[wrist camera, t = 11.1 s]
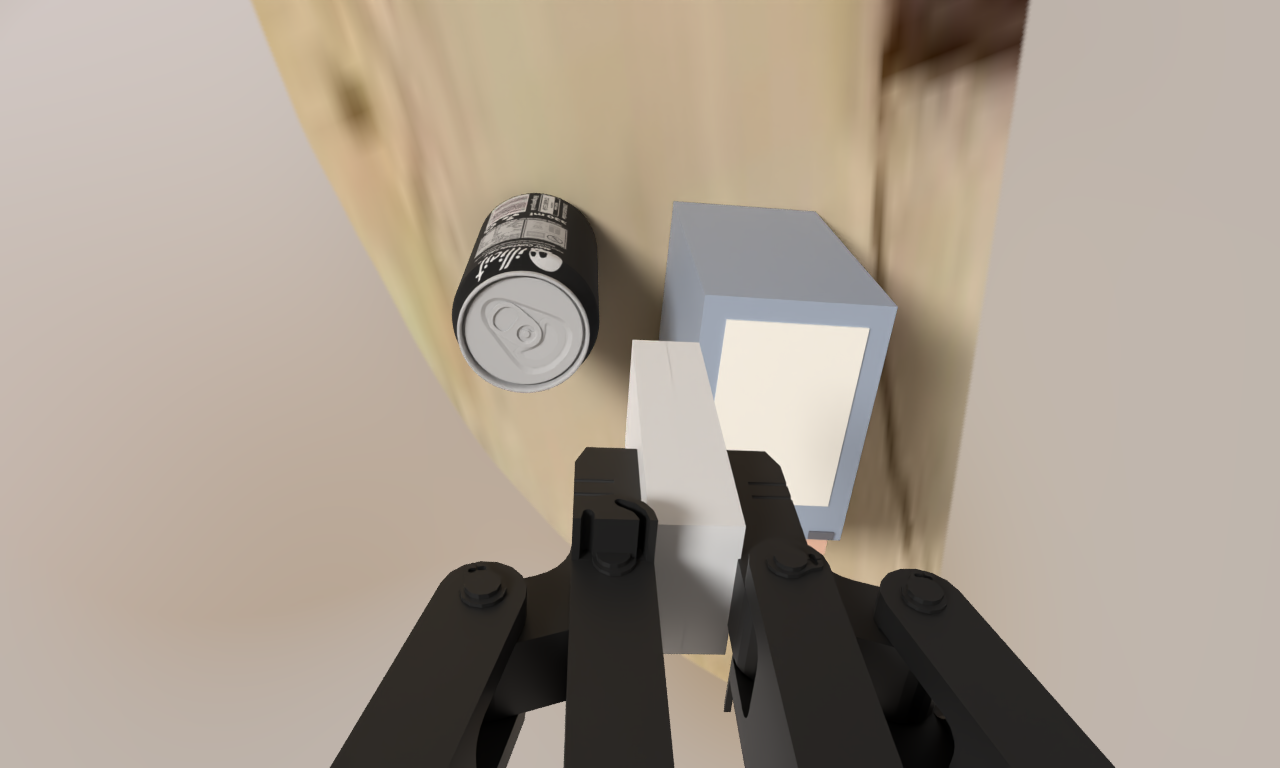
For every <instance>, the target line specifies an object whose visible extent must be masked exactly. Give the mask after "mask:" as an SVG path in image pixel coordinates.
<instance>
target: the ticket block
mask: <svg viewBox="0 0 1280 768" xmlns="http://www.w3.org/2000/svg"><path fill="white" fill-rule="evenodd" d="M897 308H898V307H897V305H896V304H895V303H894V302H893V301H892V300H891V298H890V297H889V296H888V295H887V294H886V293H885V292H884V290H883V289H882V288H881V287H880V286H879V285H878V283H877V282H876V281H875V280H874V279H873V278H872V277H871V275H870V274H869V273H868V272H867V271H866V270H865V268H864V267H863V266H862V265H861V264H860V263H859V261H858V260H857V259H856V258H855V257H854V256H853V255H852V253H851V252H850V251H849V250H848V249H847V248H846V246H845V245H844V244H843V243H842V242H841V241H840V240H839V238H838V237H837V236H836V235H835V234H834V233H833V231H832V230H831V229H830V228H829V227H828V226H827V224H826V223H825V222H824V221H823V220H822V219H821V218H820V216H819V215H818V214H817V213H816V212H814V211H800V210H786V209H773V208H759V207H745V206H732V205H718V204H704V203H691V202H677V201H674V203H673V212H672V222H671V231H670V240H669V249H668V259H667V268H666V277H665V286H664V296H663V305H662V314H661V323H660V333H659V341H674V342H698V343H699V344H700V348H701V352H702V355H703V359H704V363H705V367H706V371H707V375H708V379H709V383H710V387H711V391H712V395H713V399H714V403H715V407H716V411H717V415H718V419H719V422H720V426H721V430H722V434H723V438H724V442H725V446H726V450H742V451H765V452H766V453H767V454H768V455H769V456H770V457H772V458H773V459H774V460H775V461H776V462H777V463H778V464H779V465H780V466H781V469H782V472H783V475H784V478H785V481H786V486H788V489H789V492H790V495H791V500H792V501H793V504H794V506H795V509H796V512H797V515H798V518H799V521H800V524H801V527H802V529H803V532H804V535H805V538H806V539H815V540H840V538H841V534H842V530H843V526H844V522H845V518H846V514H847V510H848V506H849V502H850V498H851V494H852V489H853V485H854V481H855V477H856V473H857V469H858V465H859V461H860V457H861V453H862V449H863V445H864V441H865V437H866V433H867V429H868V425H869V421H870V417H871V413H872V409H873V405H874V401H875V397H876V393H877V389H878V385H879V381H880V377H881V373H882V369H883V365H884V361H885V357H886V352H887V348H888V344H889V340H890V336H891V332H892V328H893V324H894V320H895V316H896V312H897Z"/></svg>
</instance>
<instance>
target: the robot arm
mask: <svg viewBox="0 0 1280 768" xmlns="http://www.w3.org/2000/svg"><path fill="white" fill-rule="evenodd" d="M728 634H729V636H730V642H731V647H732V652H733V655H732V661H731V667H730V673H729V678H728V685H727V690H726V697H725V704H724V712H731V706H732V701H733V703H734V709H735V714H736V720H737V725H738V731H739V737H740V743H741V748H742V754H743V760H744V765H745V768H1115V767H1114V766H1113V764H1112V763H1111V762H1110V761H1109V760H1108V759H1107V758H1106V757H1105V755H1104V754H1103V753H1102V752H1101V751H1100V750H1099V749H1098V747H1097V746H1096V745H1095V744H1094V743H1093V742H1092V741H1091V740H1090V738H1089V737H1088V736H1087V735H1086V734H1085V733H1084V732H1083V731H1082V729H1081V728H1080V727H1079V726H1078V725H1077V724H1076V723H1075V721H1074V720H1073V719H1072V718H1071V717H1070V716H1069V715H1068V713H1066V711H1065V710H1064V709H1063V708H1062V707H1061V706H1060V704H1059V703H1058V702H1057V701H1056V700H1055V699H1054V698H1053V696H1052V695H1051V694H1050V693H1049V692H1048V691H1047V690H1046V689H1045V688H1044V686H1043V685H1042V684H1041V683H1040V682H1039V681H1038V680H1037V678H1036V677H1035V676H1034V675H1033V674H1032V673H1031V672H1030V670H1029V669H1028V668H1027V667H1026V666H1025V665H1024V664H1023V663H1022V661H1021V660H1020V659H1019V658H1018V657H1017V656H1016V655H1015V654H1014V653H1013V651H1012V650H1011V649H1010V648H1009V647H1008V646H1007V645H1006V643H1005V642H1004V641H1003V640H1002V639H1001V638H1000V637H999V635H998V634H997V633H996V632H995V631H994V630H993V629H992V627H991V626H990V625H989V624H988V623H987V622H986V621H985V620H984V618H983V617H982V616H981V615H980V614H979V613H978V612H977V610H976V609H975V608H974V607H973V606H972V605H971V604H970V603H969V601H968V600H967V599H966V598H965V597H964V596H963V595H962V593H961V592H960V591H959V590H958V589H956V588H955V587H954V586H953V585H951V584H950V583H949V582H948V581H947V580H945V579H943V578H941V577H939V576H937V575H935V574H933V573H930V572H926V571H922V570H918V569H899V570H896V571H893V572H890V573H888V574H887V575H886V576H885V577H884V578H883V580H882V581H881V584H880V587H878V586H874V585H870V584H866V583H862V582H858V581H854V580H851V579H848V578H845V577H842V576H839V575H838V574H836V573H834V572H832V571H831V568H830V566H829V564H828V562H827V561H826V559H825V558H824V556H823V555H822V554H821V553H819V552H818V551H817V550H815V549H814V548H813V547H811V546H809V545H808V544H807V541H806V538H805V535H804V532H803V529H802V527H801V524H800V521H799V518H798V515H797V512H796V509H795V506H794V504H793V501H792V500H791V495H790V492H789V489H788V486H786V481H785V478H784V475H783V472H782V469H781V466H780V465H779V464H778V463H777V462H776V461H775V460H774V459H773V458H772V457H770V456H769V455H768V454H767V453H766V452H765V451H742V450H726V446H725V442H724V438H723V434H722V430H721V426H720V422H719V419H718V415H717V411H716V407H715V403H714V399H713V395H712V391H711V387H710V383H709V379H708V375H707V371H706V367H705V363H704V359H703V355H702V352H701V348H700V344H699V343H698V342H674V341H651V340H632V354H631V368H630V382H629V396H628V409H627V423H626V437H625V448H596V447H586V448H585V450H584V451H583V452H582V453H581V455H580V456H579V457H578V459H577V460H576V461H575V478H574V504H573V530H572V546H571V550H570V553H569V555H568V556H567V558H566V559H565V560H564V561H563V562H562V563H561V564H560V565H559V566H558V567H556V568H554V569H552V570H550V571H548V572H546V573H543V574H539V575H536V576H532V577H528V578H523V576H522V575H521V574H520V573H518V572H517V571H516V570H515V569H514V568H512V567H510V566H507V565H504V564H501V563H498V562H483V561H480V562H476V563H471V564H466V565H463V566H461V567H459V568H458V569H456V570H454V571H452V572H450V573H449V574H448V575H447V576H446V578H445V579H444V580H443V581H442V582H441V583H440V585H439V586H438V588H437V590H436V591H435V593H434V595H433V597H432V598H431V600H430V602H429V603H428V605H427V607H426V608H425V610H424V612H423V613H422V615H421V617H420V618H419V620H418V622H417V623H416V625H415V627H414V629H413V630H412V632H411V633H410V635H409V637H408V638H407V640H406V642H405V643H404V645H403V647H402V648H401V650H400V652H399V653H398V655H397V657H396V658H395V660H394V662H393V663H392V665H391V667H390V668H389V670H388V672H387V673H386V675H385V677H384V678H383V680H382V682H381V683H380V685H379V687H378V688H377V690H376V692H375V694H374V695H373V697H372V698H371V700H370V702H369V703H368V705H367V707H366V708H365V710H364V712H363V713H362V715H361V717H360V718H359V720H358V722H357V723H356V725H355V727H354V728H353V730H352V732H351V733H350V735H349V737H348V739H347V740H346V742H345V744H344V745H343V747H342V748H341V750H340V752H339V753H338V755H337V757H336V758H335V760H334V762H333V763H332V765H331V767H330V768H506V767H507V764H508V761H509V759H510V756H511V754H512V751H513V748H514V745H515V743H516V741H517V738H518V735H519V733H520V730H521V728H522V725H523V722H524V719H525V712H527V711H531V710H535V709H538V708H542V707H545V706H549V705H552V704H556V703H560V702H563V701H566V716H565V745H564V768H674V760H673V750H672V739H671V729H670V719H669V708H668V699H667V688H666V678H665V668H664V657H663V654H721V655H725V652H726V646H727V640H728Z"/></svg>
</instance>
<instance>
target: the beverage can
mask: <svg viewBox="0 0 1280 768" xmlns="http://www.w3.org/2000/svg"><path fill="white" fill-rule="evenodd" d="M452 323H453V329H454V333H455V336H456V339H457V341H458V344H459V346H460V349H461V352H462V354H463V356H464V358H465V360H466V361H467V363H468V364H469V366H470V367H471V368H472V369H473V370H474V371H475V372H476V373H477V374H478V375H479V376H480V377H481V378H483V379H484V380H485V381H487V382H489V383H490V384H492V385H494V386H496V387H499V388H501V389H504V390H508V391H513V392H520V393H532V392H540V391H544V390H548V389H550V388H553V387H555V386H557V385H559V384H561V383H562V382H564V381H565V380H567V379H568V378H569V377H570V376H572V375H573V374H574V373H575V372H576V371H577V369H578V368H579V366H580V365H581V364H582V363H583V362H584V361H585V359H586V358H587V357H588V355H589V354H590V352H591V350H592V348H593V346H594V344H595V341H596V339H597V335H598V330H599V296H598V262H597V244H596V239H595V236H594V233H593V230H592V228H591V226H590V224H589V223H588V221H587V220H586V218H585V217H584V216H583V215H582V214H581V212H579V211H578V210H577V209H576V208H575V207H574V206H572V205H571V204H569V203H568V202H566V201H564V200H562V199H560V198H558V197H555V196H551V195H547V194H540V193H530V194H523V195H519V196H515V197H513V198H510V199H508V200H506V201H504V202H503V203H501V204H500V205H498V206H497V207H496V208H495V209H494V210H493V211H492V212H491V213H490V214H489V215H488V217H487V218H486V220H485V221H484V223H483V225H482V227H481V230H480V233H479V235H478V238H477V240H476V243H475V246H474V248H473V251H472V253H471V256H470V259H469V261H468V264H467V266H466V269H465V272H464V274H463V277H462V279H461V282H460V285H459V287H458V290H457V292H456V295H455V298H454V302H453V308H452Z"/></svg>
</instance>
